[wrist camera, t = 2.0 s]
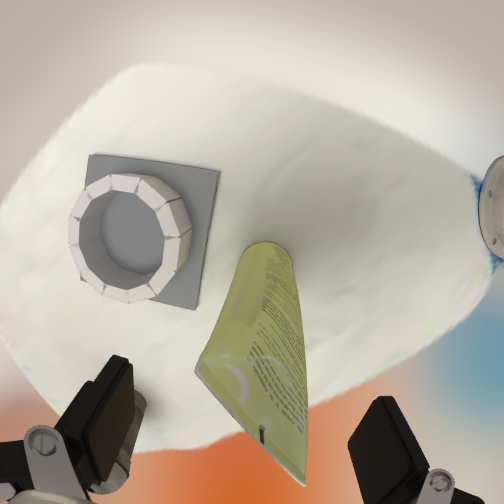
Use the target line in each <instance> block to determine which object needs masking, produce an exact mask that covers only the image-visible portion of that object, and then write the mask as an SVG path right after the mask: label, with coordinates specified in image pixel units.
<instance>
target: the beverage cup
mask: <svg viewBox="0 0 504 504" xmlns="http://www.w3.org/2000/svg"><path fill="white" fill-rule="evenodd" d="M134 399H135V416H134V419H133V422H132V424H131V426H130V428H129V431H128V433H127V435H126V438H125V440H124V442H123V444H122V447H121V449H120V451H119V454H118V456H117V459H116V461H115V463H114V466H113V468H112V470H111V473H110V475H109V478H108V480H107V481H106V482H103V481H102V482H101V485H100V487H99V486H96V485H94V484H92V485H91V487H90V489H88V490H87V491H88V492H91V493H94V494H101V495H103V494H110V493H113V492H115V491H117V490H118V489H119V488H121V486H122V485H123V484H124V483H125V481H126V480H127V479H128V477H129V471H130V463H131V461H130V459H131V455H132V452H133V449H134V446H135V442H136V439H137V436H138V432H139V429H140V426H141V423H142V419H143V416H144V411H145V408H146V402H145V399H144V398H143V397H142V395H140V394H139V393H138V392H137V391H135V390H134Z"/></svg>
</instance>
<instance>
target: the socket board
mask: <svg viewBox="0 0 504 504" xmlns="http://www.w3.org/2000/svg"><path fill="white" fill-rule="evenodd" d="M219 173H220V172H218V171H213V170H207V169H201V168H195V167H188V166H182V165H175V164H168V163H161V162H154V161H146V160H138V159H129V158H120V157H111V156H100V155H89V158H88V165H87V172H86V180H85V188H84V189H83V191H82V193H81V194H80V196H79V198H78V200H77V202H76V203H75V205H74V207H73V209H72V211H71V213H70V214H71V215H69V238H68V245H71V246H69V249H70V251H71V254H72V256H73V259H74V261H75V264H76V266H77V269H78V271H79V273H80V278H81V281H85V282H88V283H89V284H90V285H91V286H92V287H93V288H94V289H95V290H96V291H97V292H98V293H100V294H101V295H102V294H103V296H104V297H107V298H111V299H114V300H118V301H121V302H124V303H128V304H129V303H135V302H138V301H142V300H145V299H148V300H152V301H156V302H160V303H164V304H168V305H172V306H177V307H181V308H185V309H189V310H194V311H195V310H196V308H197V304H198V297H199V290H200V284H201V277H202V270H203V264H204V258H205V252H206V245H207V239H208V233H209V228H210V222H211V216H212V211H213V205H214V200H215V194H216V189H217V184H218V178H219Z"/></svg>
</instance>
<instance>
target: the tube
mask: <svg viewBox="0 0 504 504" xmlns="http://www.w3.org/2000/svg"><path fill="white" fill-rule="evenodd" d="M194 372H195V374H196V375H197V377H198V378H199V379H200V380H201V381H202V382H203V383H204V385H205V386H206V387H207V388H208V390H209V391H210V392H211V393H212V394H213V395H214V396H215V398H216V399H217V400H218V401H219V402H220V403H221V404H222V405H223V406H224V408H225V409H226V410H227V411H228V412H229V413H230V414H231V416H232V417H233V418H234V419H235V420H236V421H237V422H238V423H239V424H240V425H241V426H242V428H243V429H244V430H245V431H246V432H247V433H248V434H249V435H250V436H251V437H252V438H253V439H254V440H255V441H256V442H257V443H258V444H259V445H260V446H262V448H263V449H264V450H265V451H266V452H267V453H268V454H269V455H270V456H271V457H272V458H273V459H274V460H275V461H276V462H277V463H278V464H279V465H280V466H281V467H282V468H283V469H284V470H285V471H286V472H287V473H288V474H289V475H291V476H292V477H293V478H294V479H295V480H296V481H297V482H298V483H299V484H301V485H302V486H304V487H305V486H306V479H305V471H306V460H307V447H308V395H307V376H306V360H305V347H304V336H303V327H302V318H301V310H300V303H299V297H298V291H297V285H296V280H295V275H294V270H293V266H292V262H291V259H290V257H289V255H288V253H287V252H286V251H285V250H284V249H283V248H282V247H280V246H279V245H277V244H274V243H270V242H261V243H257V244H254V245H252V246H250V247H249V248H248V249H246V250H245V252H244V253H243V254H242V256H241V258H240V260H239V263H238V266H237V269H236V272H235V275H234V278H233V281H232V283H231V286H230V289H229V292H228V294H227V297H226V300H225V302H224V305H223V307H222V310H221V312H220V315H219V318H218V320H217V323H216V325H215V327H214V330H213V332H212V334H211V336H210V339H209V341H208V343H207V345H206V347H205V349H204V350H203V352H202V353H201V355H200V356H199V359H198V362H197V364H196V366H195V371H194Z"/></svg>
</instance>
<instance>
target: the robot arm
mask: <svg viewBox="0 0 504 504" xmlns="http://www.w3.org/2000/svg"><path fill="white" fill-rule="evenodd" d="M479 217H480V226H481V230H482V235H483V238H484V240H485V243H486V245H487V246H488V248H489V249H490V251H491V252H492V253H493V254H495V255H497V256H498V257H501V258H503V259H504V156H501V157H499V158H497V159H496V160H495V161H494V162H493V163H492V164H491V165H490V167H489V168H488V170H487V172H486V175H485V177H484V180H483V183H482V188H481V193H480V202H479ZM134 416H135V399H134V381H133V365H132V364H130V363H129V360H128V359H127V358H124V357H120V356H117V355H112V357H111V358H110V359H109V361H108V362H107V364H106V365H105V366H104V368H103V369H102V371H101V372H100V373H99V375H98V376H97V378H96V379H95V381H94V382H93V381H87V382H86V383H85V384H84V385H83V386H82V388H81V389H80V391H79V392H78V393H77V395H76V396H75V398H74V399H73V401H72V402H71V403H70V405H69V406H68V408H67V409H66V411H65V412H64V414H63V415H62V416H61V418H60V419H59V421H58V422H57V424H56V425H55V427H54V428H52V427H49V426H46V425H38V426H34V427H32V428H30V429H29V430H28V431H27V432H26V434H25V436H24V440H18V441H10V442H0V503H1V502H4V501H8V502H9V503H8V504H97V503H94V502H92V500H91V497H90V495H89V493H88V491H87V490H88V489H90V487H91V485H92V484H94V485H96V486H99V487H100V485H101V482H102V481H103V482H106V481H107V480H108V478H109V475H110V473H111V470H112V468H113V466H114V463H115V461H116V459H117V456H118V454H119V451H120V449H121V447H122V444H123V442H124V440H125V438H126V435H127V433H128V431H129V428H130V426H131V424H132V422H133V419H134ZM348 450H349V453H350V457H351V460H352V463H353V467H354V470H355V474H356V477H357V481H358V484H359V488H360V491H361V495H362V499H363V502H364V504H485V503H484V501H483V500H482V499H481V498H479V497H477V496H474V495H472V494H469V493H466V492H464V491H462V490H459V489H457V488H454V485H455V482H454V478H453V477H452V475H451V474H450V473H449V472H448V471H446V470H444V469H433V470H431V471H430V472H429V470H428V468H429V467H430V466H429V464H428V462H427V460H426V458H425V456H424V454H423V452H422V450H421V448H420V446H419V444H418V442H417V440H416V438H415V436H414V434H413V433H412V431H411V429H410V427H409V425H408V423H407V421H406V419H405V417H404V416H403V414H402V412H401V410H400V408H399V407H398V404H397V403H396V401H395V399H394V398H393V397H392V396H379V397H377V399H375V400H374V401H373V402H372V404H371V405H370V407H369V409H368V410H367V412H366V414H365V416H364V417H363V419H362V420H361V422H360V423H359V425H358V427H357V428H356V430H355V431H354V433H353V434H352V436H351V437H350V439H349V441H348Z"/></svg>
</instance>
